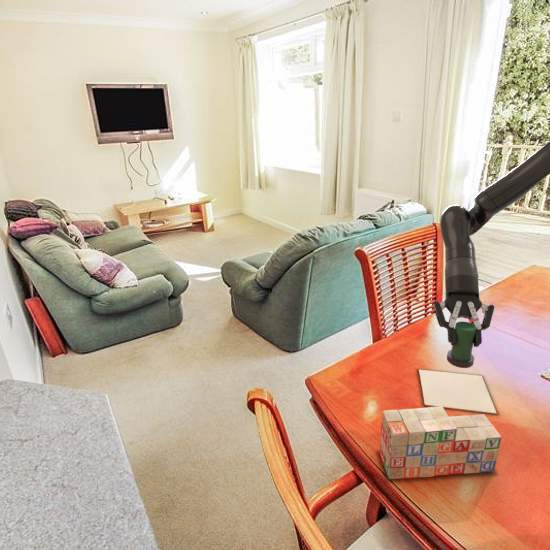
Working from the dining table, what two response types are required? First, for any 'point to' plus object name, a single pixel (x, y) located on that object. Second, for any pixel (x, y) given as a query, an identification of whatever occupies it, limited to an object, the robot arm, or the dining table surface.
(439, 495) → the dining table surface
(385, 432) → the stack of blocks
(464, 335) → the green cylinder with base
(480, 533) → the dining table surface
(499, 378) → the dining table surface
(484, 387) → the napkin
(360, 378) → the dining table surface
